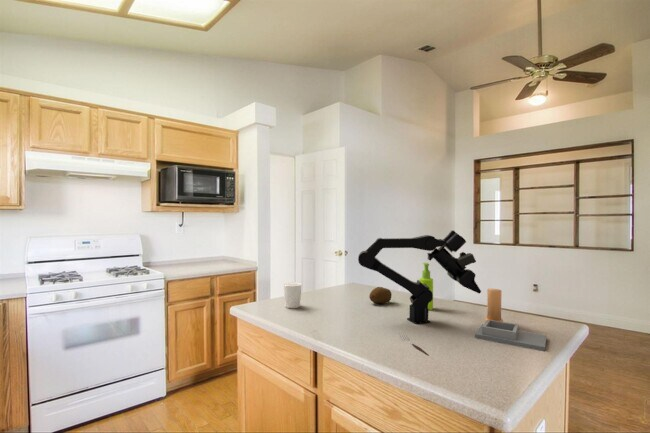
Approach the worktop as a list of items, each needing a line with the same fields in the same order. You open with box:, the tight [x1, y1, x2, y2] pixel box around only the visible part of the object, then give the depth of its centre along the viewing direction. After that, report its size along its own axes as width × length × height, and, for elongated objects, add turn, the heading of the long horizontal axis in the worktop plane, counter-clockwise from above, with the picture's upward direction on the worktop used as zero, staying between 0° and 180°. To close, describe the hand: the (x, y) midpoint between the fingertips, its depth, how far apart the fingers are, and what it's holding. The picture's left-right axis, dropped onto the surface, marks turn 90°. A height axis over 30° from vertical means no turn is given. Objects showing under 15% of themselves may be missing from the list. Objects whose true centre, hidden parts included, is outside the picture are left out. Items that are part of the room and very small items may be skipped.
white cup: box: [283, 282, 303, 309], centre depth 156 cm, size 8×8×10 cm
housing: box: [474, 319, 547, 352], centre depth 117 cm, size 20×13×4 cm, turn 55°
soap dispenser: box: [418, 262, 434, 311], centre depth 154 cm, size 6×7×20 cm
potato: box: [369, 286, 392, 304], centre depth 162 cm, size 8×12×8 cm, turn 130°
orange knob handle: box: [484, 288, 504, 323], centre depth 132 cm, size 6×6×13 cm
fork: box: [398, 332, 430, 357], centre depth 109 cm, size 3×16×2 cm, turn 16°
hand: (476, 289), depth 133 cm, fingers open, 9 cm apart
